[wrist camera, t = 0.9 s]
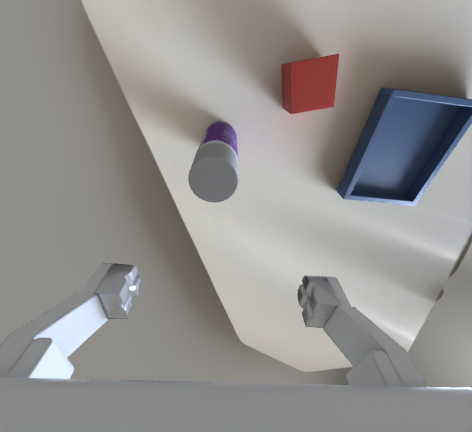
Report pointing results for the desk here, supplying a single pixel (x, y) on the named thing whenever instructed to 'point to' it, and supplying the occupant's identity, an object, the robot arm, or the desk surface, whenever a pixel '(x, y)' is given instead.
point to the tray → (404, 146)
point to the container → (215, 164)
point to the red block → (309, 84)
